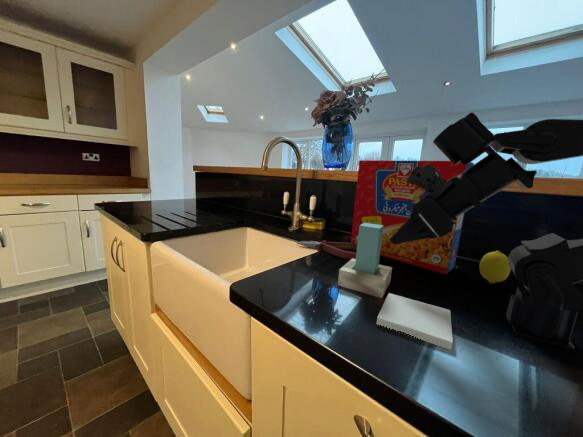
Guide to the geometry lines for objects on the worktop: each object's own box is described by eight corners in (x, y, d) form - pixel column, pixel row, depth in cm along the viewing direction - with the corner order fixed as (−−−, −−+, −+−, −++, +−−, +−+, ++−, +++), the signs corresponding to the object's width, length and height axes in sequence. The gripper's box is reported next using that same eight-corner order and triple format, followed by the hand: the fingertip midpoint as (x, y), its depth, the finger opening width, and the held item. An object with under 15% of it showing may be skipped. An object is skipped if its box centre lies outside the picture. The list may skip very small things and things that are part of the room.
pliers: (304, 241, 86) (304, 234, 85) (363, 252, 78) (364, 244, 77) (291, 250, 75) (291, 242, 75) (357, 263, 67) (359, 254, 67)
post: (376, 283, 54) (383, 225, 52) (371, 289, 51) (379, 228, 48) (358, 278, 56) (364, 222, 54) (352, 284, 53) (359, 225, 50)
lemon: (503, 282, 59) (510, 250, 57) (509, 291, 54) (517, 256, 52) (475, 276, 61) (481, 245, 60) (478, 284, 57) (485, 251, 55)
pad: (448, 316, 42) (450, 310, 42) (451, 350, 34) (452, 342, 33) (387, 298, 47) (388, 292, 47) (376, 324, 39) (377, 317, 38)
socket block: (390, 282, 55) (392, 267, 54) (382, 298, 47) (384, 281, 47) (350, 272, 59) (352, 258, 59) (337, 285, 52) (339, 269, 51)
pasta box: (350, 246, 81) (359, 160, 76) (362, 243, 87) (371, 162, 82) (446, 274, 62) (467, 160, 57) (454, 267, 67) (474, 163, 62)
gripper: (440, 155, 51) (379, 202, 59) (440, 143, 35) (356, 209, 43) (479, 197, 49) (410, 240, 56) (498, 204, 33) (398, 262, 40)
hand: (395, 236), depth 49 cm, fingers open, 9 cm apart
